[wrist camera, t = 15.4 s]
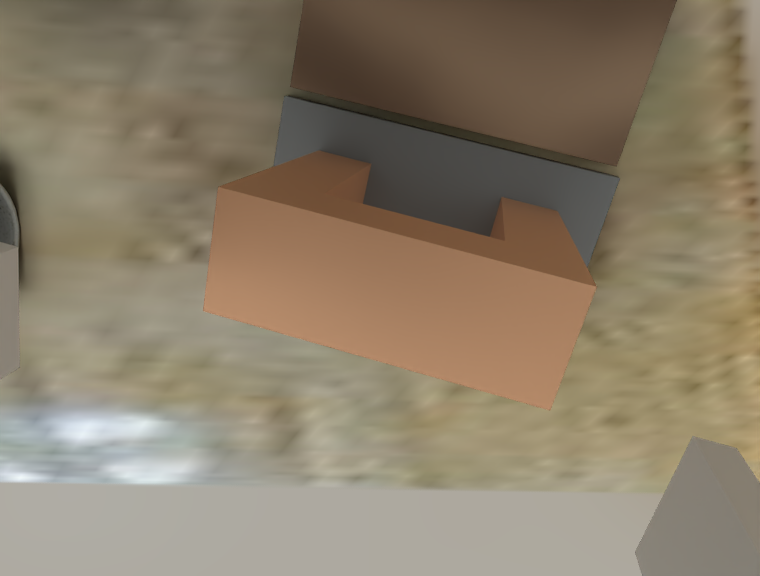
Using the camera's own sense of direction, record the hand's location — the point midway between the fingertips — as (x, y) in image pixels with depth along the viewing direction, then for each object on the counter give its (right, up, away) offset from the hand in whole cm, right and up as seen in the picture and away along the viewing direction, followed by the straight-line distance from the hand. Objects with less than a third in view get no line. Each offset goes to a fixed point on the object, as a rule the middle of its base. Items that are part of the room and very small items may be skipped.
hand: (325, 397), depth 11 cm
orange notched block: (+3, +5, +16) cm, 17 cm away
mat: (+3, +5, +16) cm, 17 cm away
